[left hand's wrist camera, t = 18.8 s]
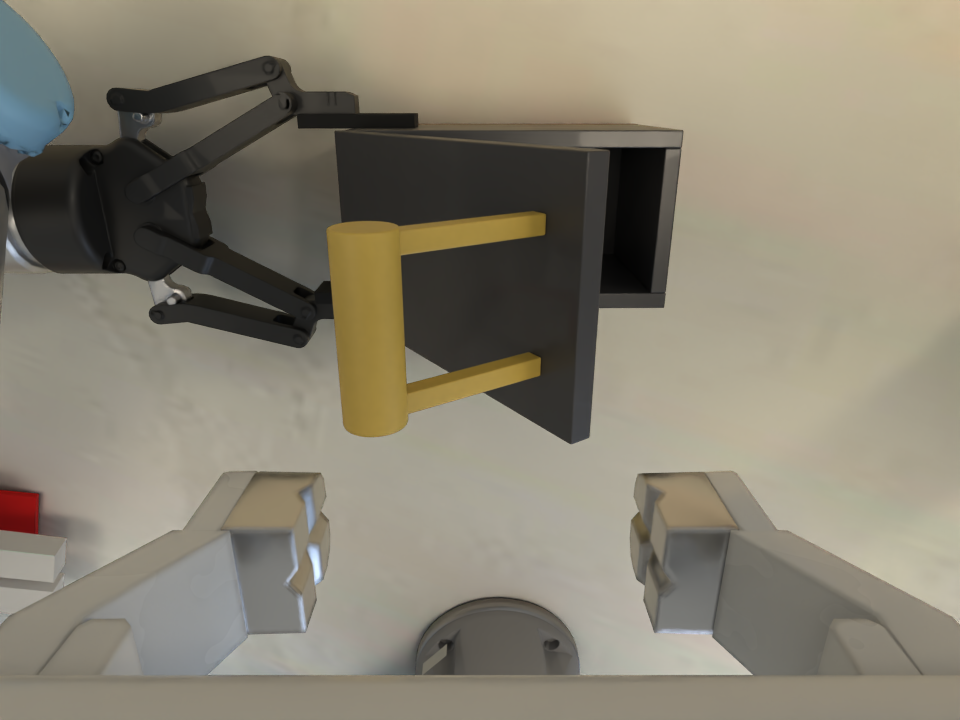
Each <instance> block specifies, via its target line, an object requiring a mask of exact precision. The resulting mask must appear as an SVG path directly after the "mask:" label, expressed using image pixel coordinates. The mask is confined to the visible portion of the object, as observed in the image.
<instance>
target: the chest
mask: <svg viewBox="0 0 960 720" xmlns="http://www.w3.org/2000/svg"><path fill="white" fill-rule="evenodd" d="M349 130H351V131H364V132H377V133H390V134H404V135H417V136H430V137H443V138H457V139H470V140H483V141H496V142H510V143H523V144H536V145H549V146H563V147H576V148H589V149H602V150H609V151H610V156H609V170H608V184H607V198H606V212H605V226H604V240H603V254H602V268H601V282H600V296H599V308H664V304H665V292H666V284H667V275H668V266H669V257H670V248H671V239H672V230H673V221H674V211H675V202H676V193H677V184H678V175H679V166H680V157H681V147H682V140H683V130H677V129H669V128H661V127H653V126H645V125H638V124H418V127H416V128H354V129H349ZM345 131H348V130H345Z"/></svg>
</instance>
